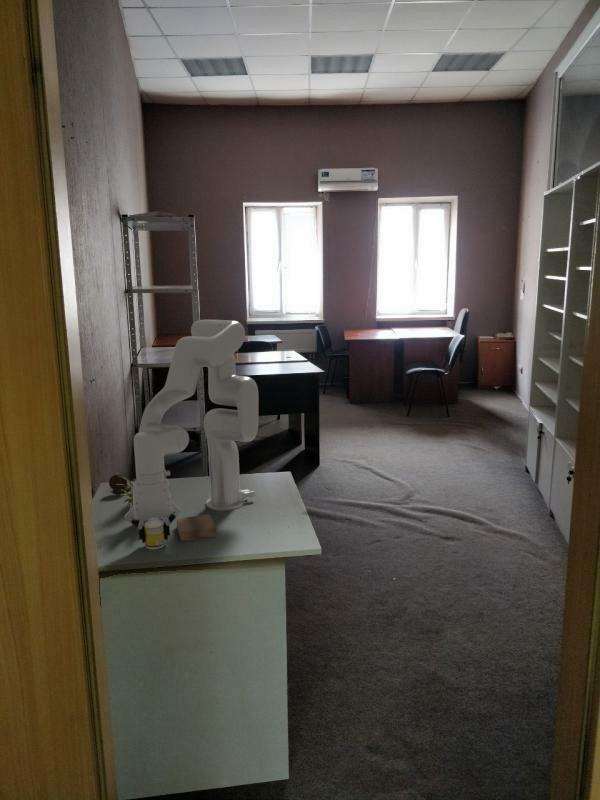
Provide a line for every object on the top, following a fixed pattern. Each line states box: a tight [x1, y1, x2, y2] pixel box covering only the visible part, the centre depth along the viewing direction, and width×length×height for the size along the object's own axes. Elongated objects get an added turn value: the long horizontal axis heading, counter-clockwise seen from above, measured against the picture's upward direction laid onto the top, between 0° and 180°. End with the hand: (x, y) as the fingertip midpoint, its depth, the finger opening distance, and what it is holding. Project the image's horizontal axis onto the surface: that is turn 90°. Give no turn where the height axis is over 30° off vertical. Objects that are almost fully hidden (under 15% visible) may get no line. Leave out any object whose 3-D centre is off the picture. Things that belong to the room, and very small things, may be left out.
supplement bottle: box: [144, 517, 166, 550], centre depth 167 cm, size 5×5×10 cm
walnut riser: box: [176, 513, 217, 542], centre depth 175 cm, size 10×10×3 cm
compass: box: [107, 472, 132, 494], centre depth 210 cm, size 8×8×7 cm
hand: (154, 538), depth 167 cm, fingers closed on supplement bottle, 5 cm apart
